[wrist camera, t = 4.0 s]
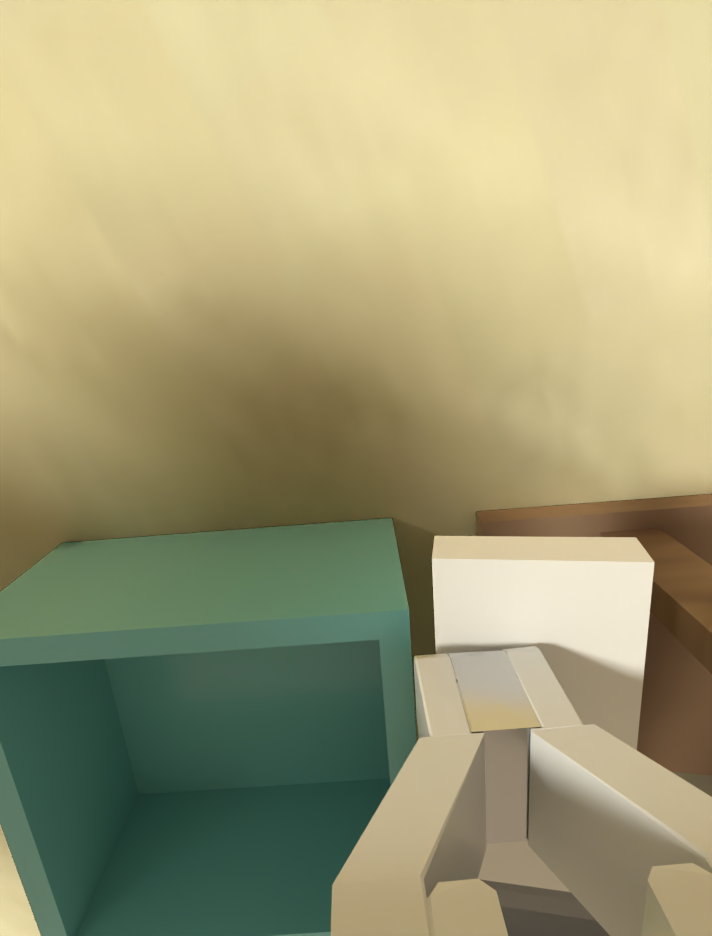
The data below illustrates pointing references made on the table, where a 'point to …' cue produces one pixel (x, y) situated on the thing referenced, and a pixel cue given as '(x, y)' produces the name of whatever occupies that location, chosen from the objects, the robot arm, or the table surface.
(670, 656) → the lever stand
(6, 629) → the cup
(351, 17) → the table surface
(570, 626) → the tilting lever
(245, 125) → the table surface
